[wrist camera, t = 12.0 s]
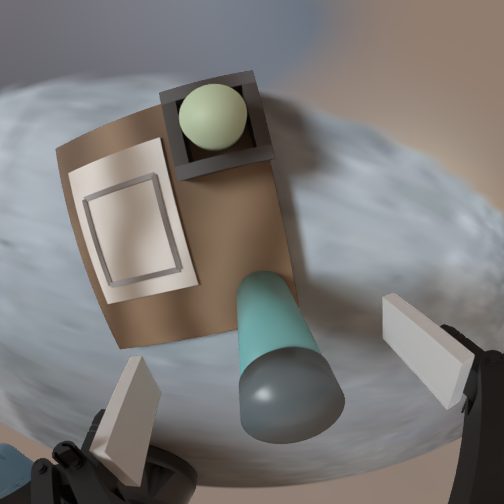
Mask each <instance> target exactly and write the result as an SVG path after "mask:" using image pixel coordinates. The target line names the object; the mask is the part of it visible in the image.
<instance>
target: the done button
mask: <svg viewBox="0 0 504 504" xmlns="http://www.w3.org/2000/svg"><path fill="white" fill-rule="evenodd" d="M246 119H247V109H246V105H245V102H244V100H243V98H242V97H241V96H240V94H239V93H238V92H236V91H235V90H234V89H232V88H230V87H228V86H225V85H221V84H208V85H204V86H201V87H199V88H197V89H195V90H194V91H192V92H191V93H190V94H189V95H188V96H187V97H186V98H185V100H184V101H183V103H182V105H181V108H180V112H179V122H180V126H181V128H182V131H183V132H184V134H185V135H186V136H187V137H188V138H189V139H190V140H191V141H192V142H193V143H195V144H196V145H197V146H198V147H200V148H202V149H204V150H207V151H213V152H216V151H223V150H226V149H228V148H230V147H232V146H233V145H234V144H236V143H237V142H238V140H239V139H240V138H241V136H242V134H243V131H244V127H245V123H246Z"/></svg>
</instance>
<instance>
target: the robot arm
mask: <svg viewBox="0 0 504 504" xmlns="http://www.w3.org/2000/svg"><path fill="white" fill-rule="evenodd" d="M382 302H383V339H384V340H385V341H386V342H387V343H388V344H389V346H390V347H391V348H392V349H393V350H394V351H395V352H396V353H397V354H398V355H399V356H400V358H401V359H402V360H403V361H404V362H405V363H406V364H407V365H408V366H409V367H410V369H411V370H412V371H413V372H414V373H415V374H416V375H417V376H418V377H419V379H420V380H421V381H422V382H423V383H424V384H425V385H426V386H427V388H428V389H429V390H430V391H431V392H432V393H433V394H434V396H435V397H436V398H437V399H438V400H439V401H440V403H441V404H442V405H443V406H444V407H445V408H446V409H447V410H448V409H450V408H451V407H453V406H454V405H456V404H457V403H459V402H460V399H461V397H462V394H463V393H464V394H465V395H466V396H467V399H466V401H465V404H464V406H463V408H462V411H461V413H463V412H464V410H465V416H464V426H463V434H462V442H461V448H460V455H459V460H458V465H457V470H456V475H455V479H454V484H453V487H452V491H451V495H450V498H449V502H448V504H504V354H502V353H501V352H499V351H496V350H489V351H486V352H485V351H483V350H482V349H481V348H480V347H478V346H477V345H476V344H474V343H473V342H472V341H471V340H469V339H468V338H465V336H464V335H463V334H460V332H459V331H457V330H456V329H455V328H453V327H451V326H448V325H445V324H444V325H442V326H440V327H439V326H438V325H437V324H435V323H434V322H433V321H431V320H430V319H429V318H427V317H426V316H425V315H423V314H422V313H421V312H419V311H418V310H417V309H415V308H414V307H413V306H411V305H410V304H409V303H407V302H406V301H405V300H403V299H402V298H401V297H399V296H398V295H396V294H395V293H391V294H389V295H386V296H383V297H382ZM160 396H161V391H160V389H159V387H158V386H157V384H156V382H155V380H154V378H153V376H152V374H151V373H150V371H149V369H148V367H147V365H146V363H145V361H144V359H143V357H142V356H135V357H130V358H129V360H128V362H127V364H126V366H125V369H124V371H123V373H122V375H121V377H120V379H119V381H118V384H117V386H116V388H115V390H114V392H113V395H112V397H111V399H110V401H109V404H108V406H107V408H106V409H101V410H100V411H99V413H98V414H97V415H96V416H95V417H94V420H93V422H92V426H90V429H89V432H88V433H87V436H86V438H85V440H84V443H83V445H82V447H81V450H80V449H79V448H78V447H77V446H76V445H75V444H74V443H73V442H71V441H63V442H60V443H59V444H58V445H56V447H55V448H54V449H53V452H52V458H54V460H55V461H56V462H58V464H57V465H53V464H52V463H51V462H50V461H49V460H48V459H46V458H40V459H38V460H36V461H35V462H33V461H31V460H30V459H29V458H27V457H26V456H25V455H23V454H22V453H21V452H20V451H18V450H17V449H16V448H15V447H13V446H11V445H9V444H6V443H0V504H188V503H189V501H190V499H191V497H192V495H193V493H194V491H195V489H196V481H197V474H196V472H195V470H194V469H193V468H192V467H191V466H190V465H189V464H188V463H186V462H185V461H183V460H182V459H180V458H178V457H176V456H174V455H172V454H170V453H168V452H165V451H163V450H160V449H157V448H154V447H151V446H149V442H150V437H151V433H152V429H153V424H154V420H155V416H156V412H157V408H158V404H159V400H160Z"/></svg>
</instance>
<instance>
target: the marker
mask: <svg viewBox="0 0 504 504" xmlns="http://www.w3.org/2000/svg"><path fill="white" fill-rule="evenodd" d="M236 298H237V319H238V339H239V358H240V375H241V377H240V381H239V398H240V416H241V424H242V426H243V428H244V430H245V431H246V432H247V433H248V434H249V435H250V436H252V437H253V438H255V439H257V440H260V441H263V442H267V443H274V444H288V443H295V442H300V441H303V440H307V439H309V438H312V437H314V436H316V435H318V434H320V433H322V432H323V431H325V430H326V429H328V428H329V427H330V426H331V425H333V424H334V423H335V422H336V420H337V419H338V418H339V417H340V415H341V413H342V411H343V409H344V405H345V397H344V394H343V392H342V390H341V388H340V386H339V384H338V382H337V380H336V378H335V376H334V374H333V372H332V370H331V368H330V365H329V364H328V362H327V360H326V359H325V358H324V357H323V356H322V354H321V352H320V350H319V348H318V346H317V344H316V342H315V340H314V338H313V336H312V334H311V332H310V330H309V328H308V326H307V324H306V322H305V320H304V318H303V316H302V314H301V312H300V310H299V308H298V305H297V303H296V301H295V299H294V297H293V295H292V293H291V292H290V290H289V288H288V286H287V284H286V282H285V280H284V279H283V278H282V277H281V276H280V275H278V274H276V273H274V272H271V271H266V270H262V271H256V272H253V273H251V274H249V275H248V276H246V277H245V278H244V279H243V280H242V281H241V283H240V284H239V286H238V289H237V294H236Z"/></svg>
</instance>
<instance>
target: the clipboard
mask: <svg viewBox="0 0 504 504" xmlns="http://www.w3.org/2000/svg"><path fill="white" fill-rule="evenodd" d="M208 84H221V85H225V86H228V87H230V88H232V89H234V90H235V91H236V92H238V93H239V94H240V96H241V97H242V98H243V100H244V102H245V105H246V109H247V119H246V123H245V127H244V131H243V134H242V136H241V138H240V139H239V140H238V142H237V143H236V144H234V145H233V146H232V147H230V148H228V149H226V150H223V151H216V152H213V151H207V150H204V149H202V148H200V147H198V146H197V145H196V144H195V143H193V142H192V141H191V140H190V139H189V138H188V137H187V136H186V135H185V134H184V132H183V131H182V128H181V126H180V122H179V112H180V108H181V105H182V103H183V101H184V100H185V98H186V97H187V96H188V95H189V94H190V93H191V92H192V91H194V90H195V89H197V88H199V87H201V86H204V85H208ZM159 95H160V101H161V104H160V105H157V106H154V107H151V108H148V109H145V110H142V111H139V112H137V113H134V114H131V115H129V116H126V117H123V118H121V119H118V120H116V121H113V122H111V123H109V124H106V125H104V126H102V127H99V128H97V129H95V130H93V131H90V132H88V133H86V134H84V135H82V136H80V137H78V138H76V139H74V140H72V141H70V142H68V143H66V144H64V145H62V146H60V147H58V148H56V155H57V161H58V167H59V172H60V178H61V183H62V187H63V192H64V197H65V201H66V205H67V209H68V213H69V217H70V221H71V224H72V228H73V231H74V235H75V238H76V241H77V245H78V248H79V251H80V254H81V257H82V260H83V263H84V266H85V269H86V272H87V274H88V277H89V280H90V282H91V285H92V288H93V290H94V293H95V295H96V298H97V300H98V303H99V305H100V307H101V310H102V312H103V314H104V317H105V319H106V321H107V323H108V326H109V328H110V330H111V332H112V334H113V336H114V338H115V340H116V342H117V344H118V346H119V348H120V349H126V348H134V347H141V346H148V345H154V344H161V343H167V342H173V341H179V340H185V339H190V338H196V337H201V336H207V335H212V334H217V333H222V332H227V331H231V330H236V329H238V319H237V298H236V294H237V289H238V286H239V284H240V283H241V281H242V280H243V279H244V278H245V277H246V276H248V275H249V274H251V273H253V272H256V271H262V270H266V271H271V272H274V273H276V274H278V275H280V276H281V277H282V278H283V279H284V280H285V282H286V284H287V286H288V288H289V290H290V292H291V293H292V295H293V297H294V299H295V301H296V303H297V305H298V299H297V294H296V288H295V283H294V277H293V272H292V266H291V261H290V256H289V251H288V246H287V240H286V235H285V230H284V225H283V221H282V216H281V211H280V206H279V201H278V197H277V192H276V187H275V183H274V178H273V174H272V169H271V165H270V160H272V159H274V158H275V157H274V153H273V148H272V144H271V140H270V136H269V131H268V127H267V123H266V119H265V115H264V111H263V107H262V103H261V99H260V95H259V91H258V88H257V84H256V80H255V76H254V73H253V70H251V71H245V72H239V73H234V74H229V75H224V76H219V77H216V78H211V79H206V80H202V81H198V82H194V83H191V84H187V85H183V86H180V87H176V88H173V89H170V90H166V91H163V92H160V93H159ZM298 308H299V305H298Z"/></svg>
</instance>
